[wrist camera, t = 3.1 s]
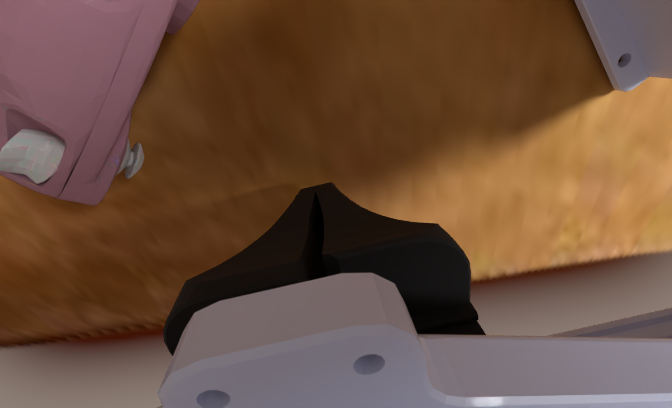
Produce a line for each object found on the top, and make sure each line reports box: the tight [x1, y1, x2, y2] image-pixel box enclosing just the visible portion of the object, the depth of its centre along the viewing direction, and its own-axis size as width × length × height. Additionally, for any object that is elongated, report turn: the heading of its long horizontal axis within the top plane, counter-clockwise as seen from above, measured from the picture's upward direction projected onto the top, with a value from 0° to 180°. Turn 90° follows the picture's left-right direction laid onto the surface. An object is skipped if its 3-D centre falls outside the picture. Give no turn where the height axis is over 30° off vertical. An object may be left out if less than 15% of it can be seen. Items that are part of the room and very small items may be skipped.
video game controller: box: [0, 0, 200, 206], centre depth 8 cm, size 10×5×7 cm, turn 143°
